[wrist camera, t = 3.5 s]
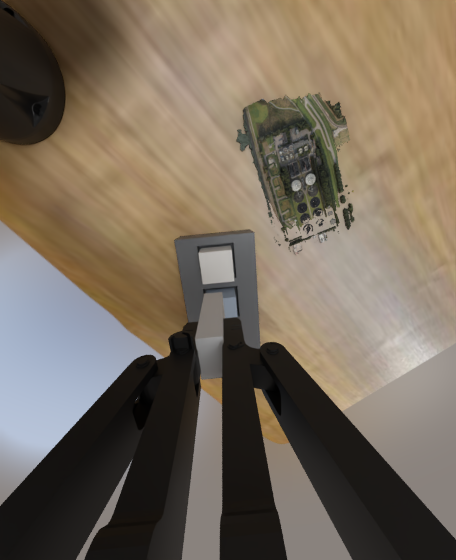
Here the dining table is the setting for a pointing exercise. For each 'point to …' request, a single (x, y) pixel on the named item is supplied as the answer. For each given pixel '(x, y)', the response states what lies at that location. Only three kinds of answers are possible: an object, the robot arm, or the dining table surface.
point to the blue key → (227, 301)
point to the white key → (216, 264)
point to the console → (242, 283)
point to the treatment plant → (297, 158)
